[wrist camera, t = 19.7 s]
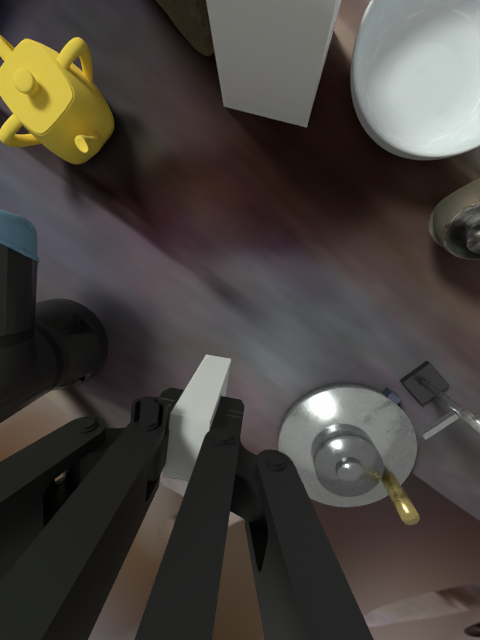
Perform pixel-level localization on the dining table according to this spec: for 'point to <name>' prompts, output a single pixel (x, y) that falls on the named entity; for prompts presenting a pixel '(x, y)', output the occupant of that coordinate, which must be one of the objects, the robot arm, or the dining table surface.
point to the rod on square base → (431, 384)
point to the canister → (191, 22)
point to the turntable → (369, 415)
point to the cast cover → (346, 460)
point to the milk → (272, 54)
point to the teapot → (53, 100)
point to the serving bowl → (419, 76)
